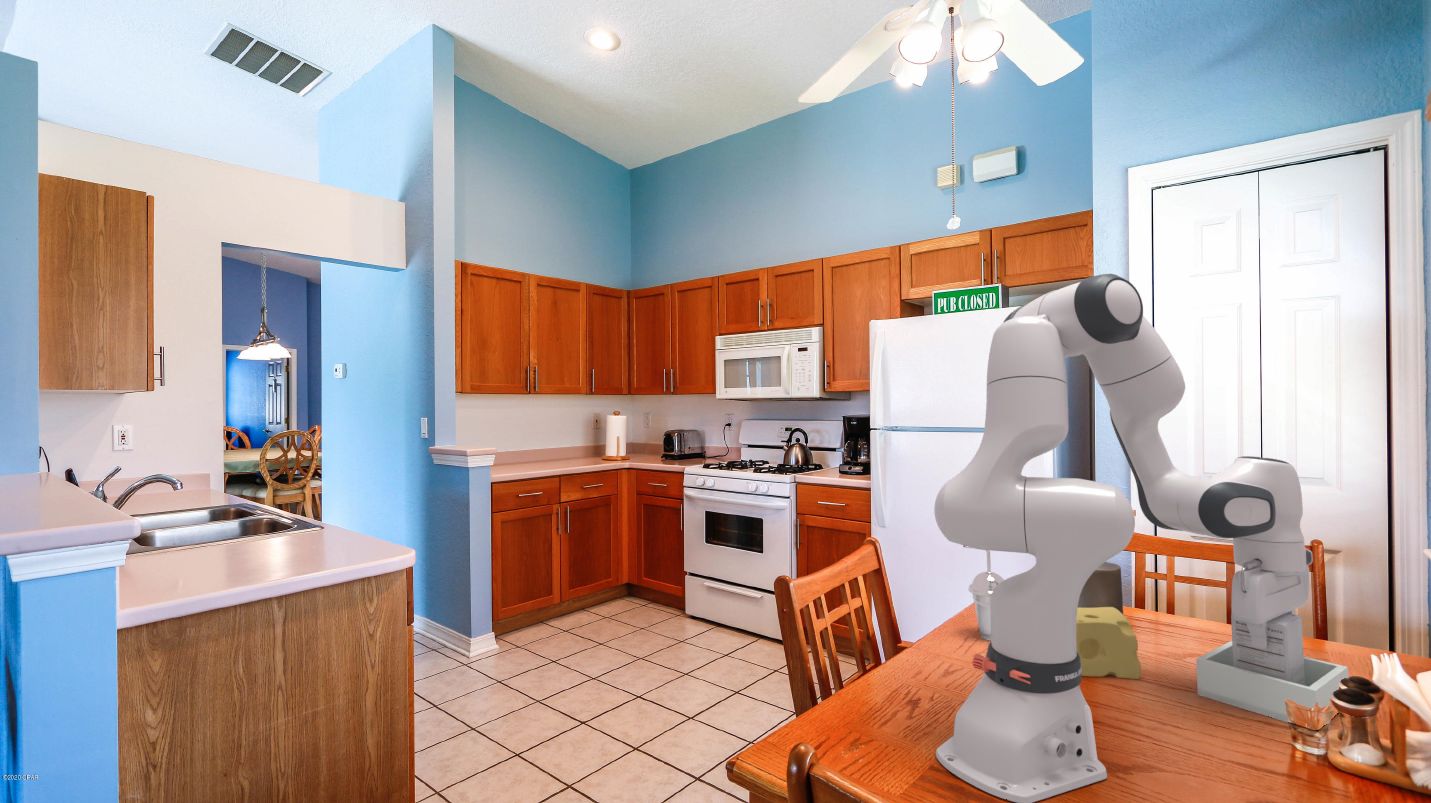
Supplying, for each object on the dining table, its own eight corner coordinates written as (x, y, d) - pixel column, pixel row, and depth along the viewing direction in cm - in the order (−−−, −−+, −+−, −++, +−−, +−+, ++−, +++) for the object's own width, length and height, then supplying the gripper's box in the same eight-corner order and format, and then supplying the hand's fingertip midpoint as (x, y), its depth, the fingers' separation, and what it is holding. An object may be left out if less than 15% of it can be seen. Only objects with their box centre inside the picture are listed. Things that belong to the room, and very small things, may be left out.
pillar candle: (1135, 632, 135) (1132, 561, 136) (1097, 636, 133) (1093, 565, 134) (1099, 618, 145) (1095, 552, 145) (1062, 622, 143) (1059, 556, 143)
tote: (1317, 731, 93) (1315, 690, 93) (1197, 694, 106) (1196, 658, 106) (1349, 704, 101) (1348, 666, 101) (1234, 673, 114) (1233, 639, 114)
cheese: (1141, 680, 112) (1139, 623, 112) (1075, 677, 114) (1073, 621, 114) (1116, 657, 122) (1114, 606, 122) (1056, 655, 124) (1054, 604, 124)
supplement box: (1250, 677, 108) (1247, 604, 109) (1307, 693, 102) (1303, 615, 102) (1232, 688, 105) (1229, 612, 105) (1290, 705, 98) (1286, 624, 98)
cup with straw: (1013, 646, 129) (1009, 548, 129) (965, 640, 133) (962, 545, 133) (1013, 632, 137) (1009, 540, 137) (968, 627, 141) (965, 538, 141)
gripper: (1266, 567, 95) (1271, 660, 95) (1316, 551, 106) (1320, 634, 105) (1216, 560, 100) (1220, 647, 100) (1268, 545, 111) (1272, 624, 111)
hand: (1272, 641), depth 103 cm, fingers open, 8 cm apart
